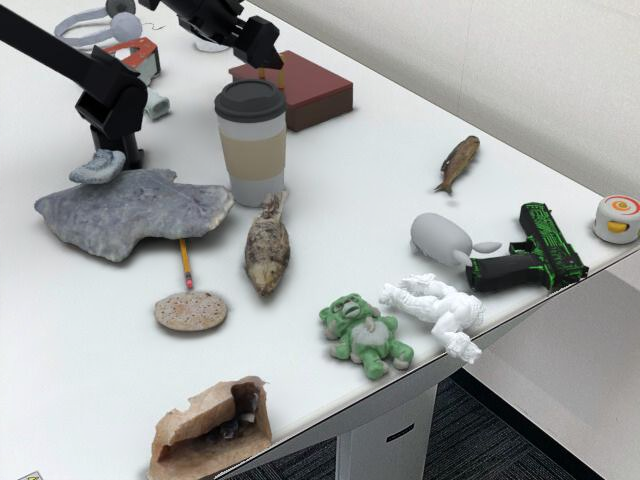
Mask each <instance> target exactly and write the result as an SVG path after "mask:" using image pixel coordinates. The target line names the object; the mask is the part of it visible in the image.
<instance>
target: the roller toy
mask: <svg viewBox="0 0 640 480" xmlns="http://www.w3.org/2000/svg"><path fill="white" fill-rule="evenodd" d="M592 230H593V232H594V234H595V235H596V236H597V237H599V238H600V239H601V240H603V241H605V242H608V243H612V244H617V245H618V244H619V245H624V244H629V243H631V242H633V241H635V240H637V238H638V237H639V235H640V201H639V200H637V199H635V198H633V197H631V196H627V195H622V194H612V195H608V196H605V197H604V198H602V199H601V200H600V201H599V202H598V205H597V208H596V211H595V219H594V222H593V223H592Z"/></svg>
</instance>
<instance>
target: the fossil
mask: <svg viewBox="0 0 640 480" xmlns="http://www.w3.org/2000/svg"><path fill="white" fill-rule="evenodd" d="M125 160H126V157H125V154H124V153H122V152H120V151H110V150H102V149H98V151H97V152H96V151H95V152H94V153H93V156H92V160H91V161H89V162H88V163H85V164H82V165H79V166H78V167H76V168H75V169H74V170H72V171H71V172H70V173H69V175H68V180H70V182H73V183H76V184H81V183H87V184H102V183H107V182H110V181H111V180H112V179H113V178H114V177H115V176H116V175H117V174H118V173H119V172H120V171H121V170H122V169H123V164H124V163H125Z"/></svg>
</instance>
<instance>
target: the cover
mask: <svg viewBox="0 0 640 480" xmlns="http://www.w3.org/2000/svg"><path fill="white" fill-rule="evenodd" d="M278 54H279V55H280V57H281V59H282V61H283V62H284V66H283V67H282V69H281V70H275V69H268V68H258V69H254V68H252V67H251V66H249V65H247V64H245V63H244V64H241V65H238V66H233V67H231V68H228V74H229V75H230V76H231V77H232V76H234V77H236V78H238V79H239V80H244V79H261V80H266V81H269V82H271V83H273V84H274V85H275V86H276V87H277V89H279V90H281V91H282V92H283V93H284V94H285V96H286V102H287V107H288V108H290V109H294V108H297V107H300V106H303V105H305V104H308V103H311V102H313V101H316V100H319V99H322V98H324V97H327V96H330V95H333V94H335V93H338V92H341V91H343V90H346V89H349V88H352V87H353V88H354V82H353V81H350V80H349V79H347V78H345V77H343V76H342V75H339V74H336V73H335V72H333V71H331V70H330V69H327V68H325V67H323V66H322V65H319V64H317V63H315V62H313V61H311V60H310V59H308V58H305V57H304V56H301V55H299V54H297V53H296V52H293V51H291V50H290V49H288V50H284V51H281V52H278Z"/></svg>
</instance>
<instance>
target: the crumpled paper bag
mask: <svg viewBox="0 0 640 480" xmlns="http://www.w3.org/2000/svg"><path fill="white" fill-rule="evenodd" d="M266 384H271V383H270V382H267V381H265V380H263V379H262V378H260V377H259V376H258V375H246V376H244V377H242V378H240V379H238V380H229V381H218V382H217V383H216V384H214V385H212V386H210V387H209V388H207V389H205V390H203V391H201V392H200V393H199V394H196V395H194V396H191V397H188V398H187V401H188V403H189V404H190V405H189V407H188V409H186V410H185V411H180V410H179V409H178V408H177V407H175V408H172V409H171V410H170V411H169V412H168V411H167V412H166V414H165V415H164V416H163V417H162V418H161V419H160V420H159V421H158V422H157V423H156V425H155V426H154V428H155V435H154V438H153V440H152V443H151V457H150V460H149V467H148V469H147V471H146V472H145V475H146V479H147V480H200V479H203V478H204V477H206V476H208V477H209V476H210V475H213V474H216V473H217V472H219V471H222V470H224V469H227V468H228V467H231V466H233V465H236V464H238V463H240V462H242V461H244V460H246V459H249V458H252V457H254V456H256V455H257V454H259V453H261V452H262V451H264V450H266V449H268V448H269V447H270V446H271V445H272V440H273V434H272V428H271V423H270V419H269V415H268V414H269V413H268V409H267V394H268V392H267V391H266V390H265V388H264V386H265V385H266Z"/></svg>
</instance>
